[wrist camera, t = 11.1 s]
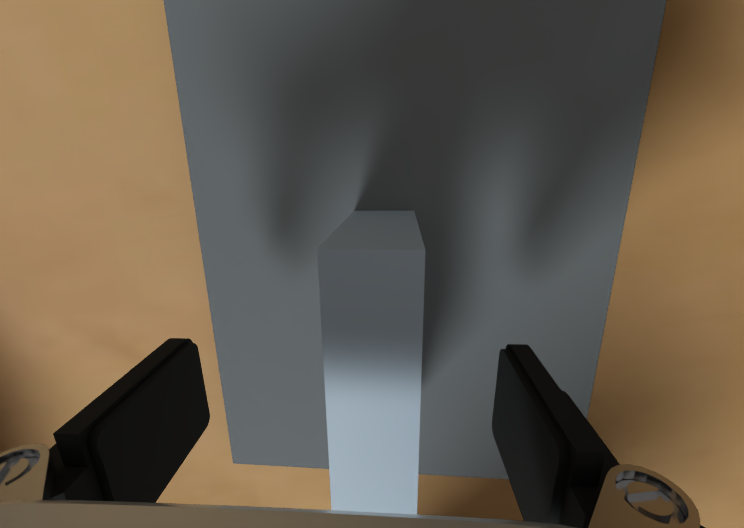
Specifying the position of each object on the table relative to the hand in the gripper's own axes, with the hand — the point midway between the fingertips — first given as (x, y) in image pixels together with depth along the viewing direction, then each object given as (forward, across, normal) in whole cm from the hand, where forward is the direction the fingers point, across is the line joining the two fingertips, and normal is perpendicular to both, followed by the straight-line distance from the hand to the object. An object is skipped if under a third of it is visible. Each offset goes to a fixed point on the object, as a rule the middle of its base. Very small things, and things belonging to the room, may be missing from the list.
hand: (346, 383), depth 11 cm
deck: (+5, -1, 0) cm, 5 cm away
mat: (+6, -2, -2) cm, 6 cm away
